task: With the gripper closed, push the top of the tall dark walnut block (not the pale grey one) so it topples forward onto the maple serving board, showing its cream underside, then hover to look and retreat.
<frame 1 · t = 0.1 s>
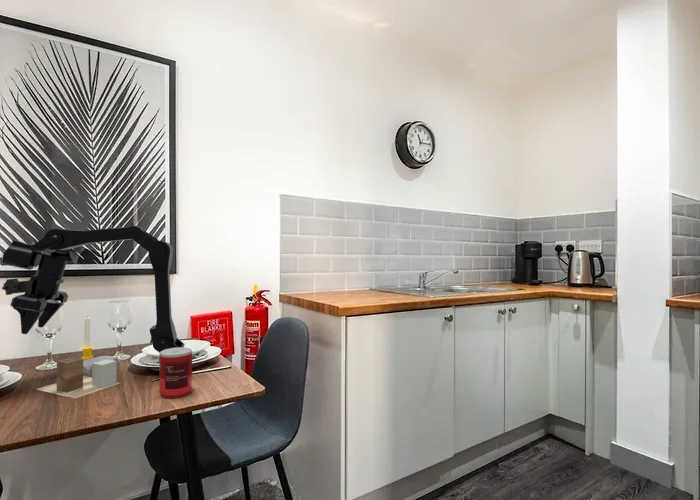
hand: (32, 330, 104), 15 cm above the table, tool pointing down, fingers open, 9 cm apart
stone block: (91, 372, 120), on the table
canned food: (175, 393, 101), on the table
walnut block: (69, 391, 100), point 1 cm above the table, touching serving board
candle: (87, 364, 126), on the table
serving board: (78, 388, 104), on the table
pale grey block: (104, 384, 105), point 1 cm above the table, touching serving board
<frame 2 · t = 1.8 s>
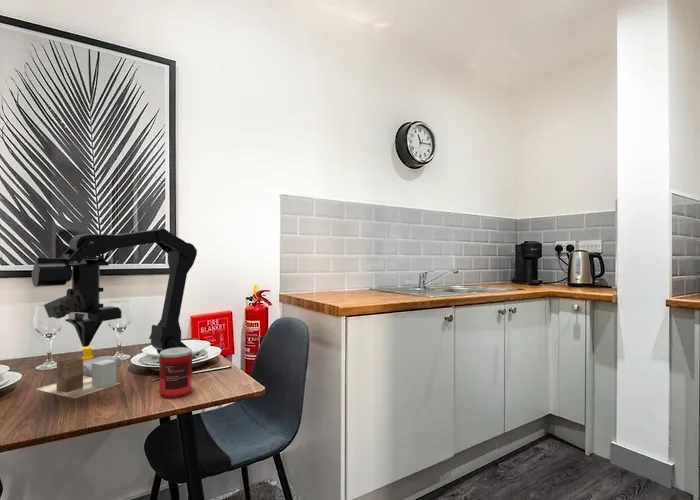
hand: (85, 346, 97), 13 cm above the table, tool pointing down, fingers closed
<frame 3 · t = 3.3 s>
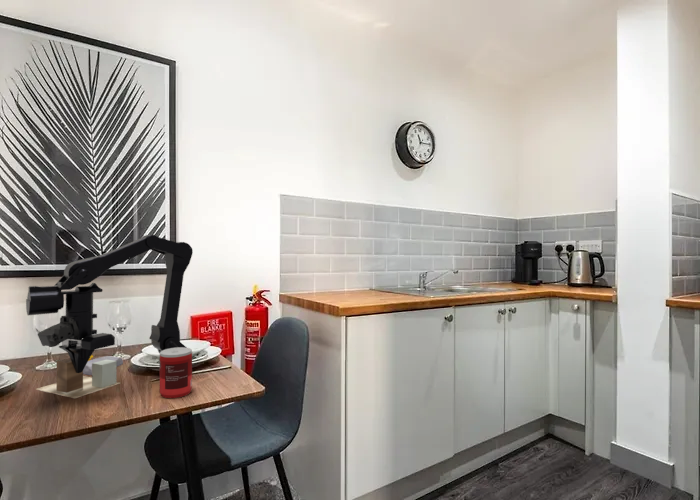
hand: (79, 372, 98), 6 cm above the table, tool pointing down, fingers closed
walnut block: (69, 391, 100), point 1 cm above the table, touching gripper, serving board
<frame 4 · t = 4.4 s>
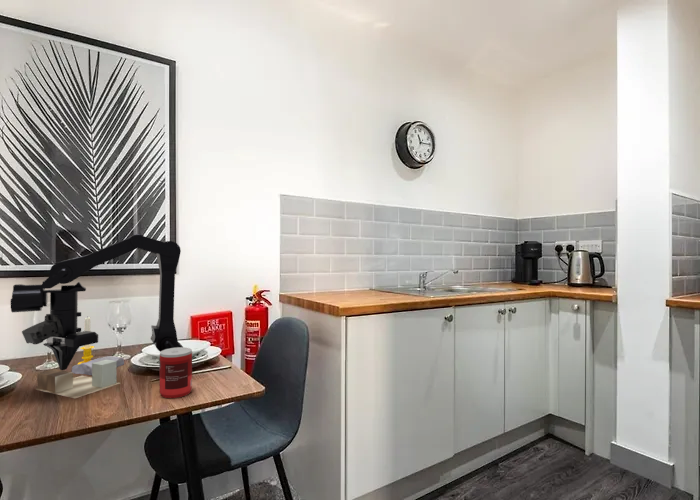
hand: (63, 369, 100), 6 cm above the table, tool pointing down, fingers closed
walnut block: (64, 382, 100), point 3 cm above the table, tilted 90°, touching serving board
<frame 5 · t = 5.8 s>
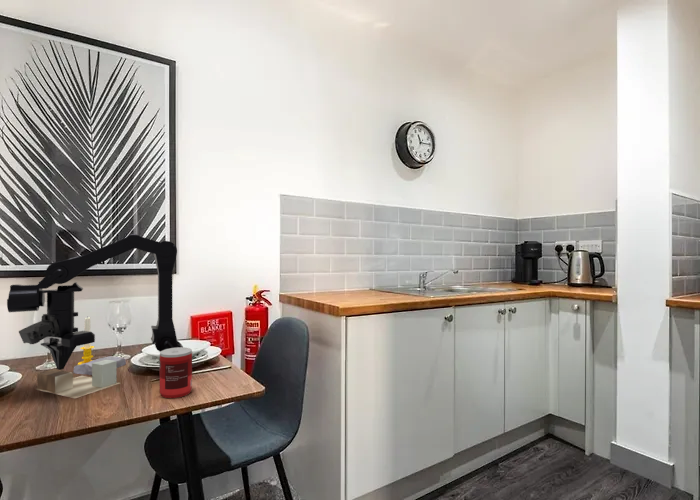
hand: (60, 369, 101), 6 cm above the table, tool pointing down, fingers closed
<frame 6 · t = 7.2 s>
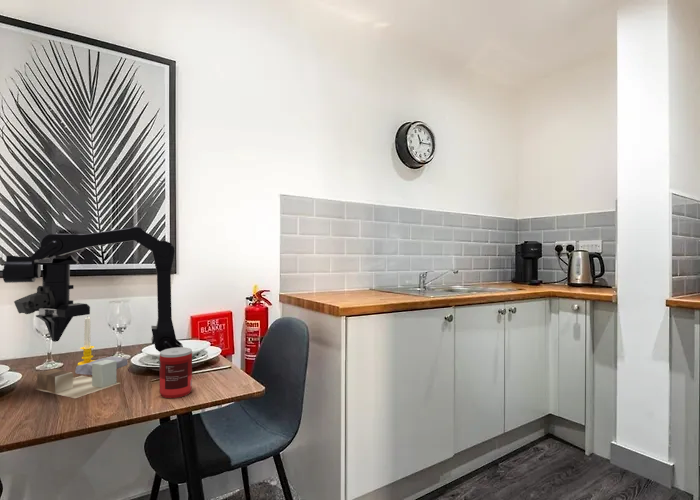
hand: (55, 341, 102), 13 cm above the table, tool pointing down, fingers closed
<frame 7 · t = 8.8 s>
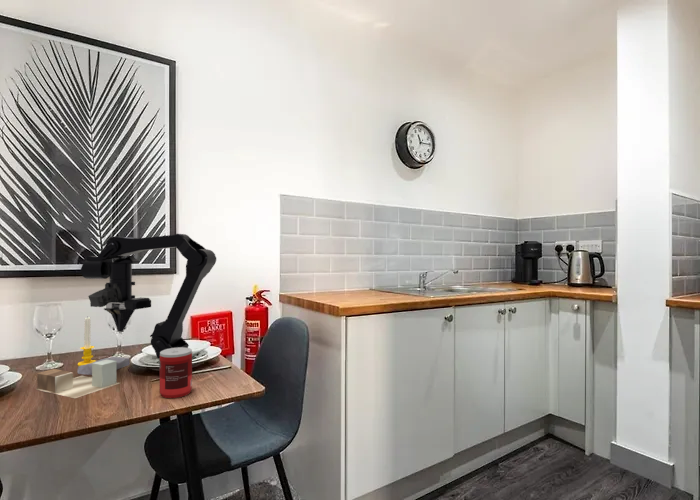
hand: (120, 331, 116), 13 cm above the table, tool pointing down, fingers closed
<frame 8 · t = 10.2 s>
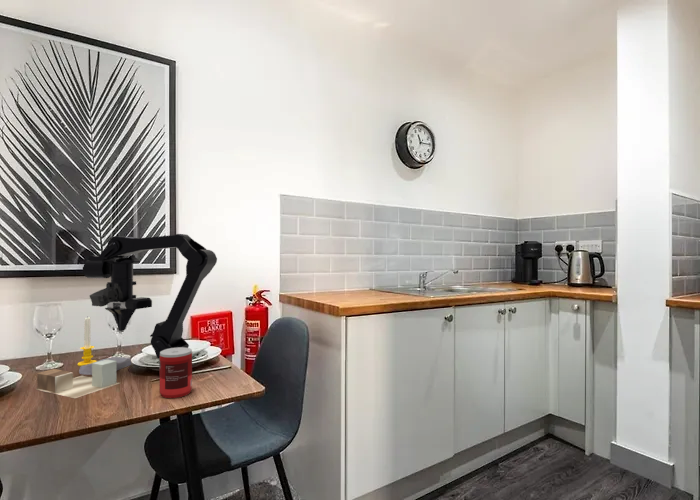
hand: (121, 330, 116), 13 cm above the table, tool pointing down, fingers closed
at the end: walnut block tilted 90°; walnut block inside the target area (3.5 cm from its centre), point 2.8 cm above the table; pale grey block moved 0.0 cm from its start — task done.
